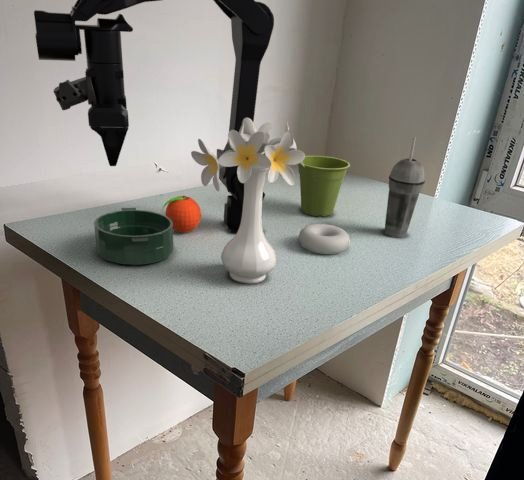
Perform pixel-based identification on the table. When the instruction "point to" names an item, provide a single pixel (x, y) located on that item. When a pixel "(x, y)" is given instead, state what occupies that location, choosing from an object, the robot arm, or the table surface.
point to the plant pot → (321, 183)
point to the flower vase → (251, 192)
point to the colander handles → (141, 239)
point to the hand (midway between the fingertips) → (112, 159)
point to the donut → (324, 239)
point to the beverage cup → (403, 194)
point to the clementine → (183, 213)
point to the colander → (133, 236)
